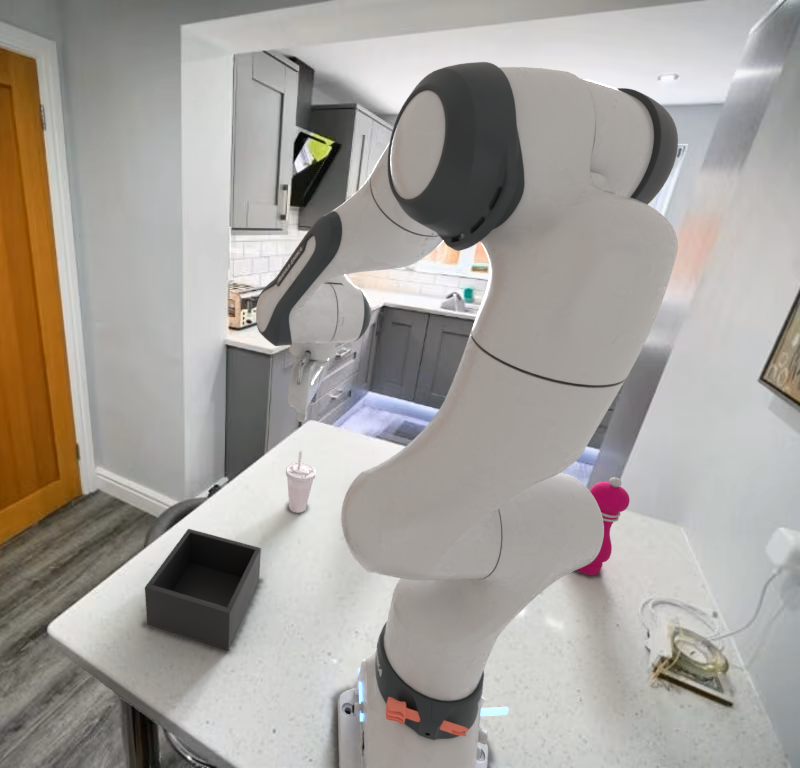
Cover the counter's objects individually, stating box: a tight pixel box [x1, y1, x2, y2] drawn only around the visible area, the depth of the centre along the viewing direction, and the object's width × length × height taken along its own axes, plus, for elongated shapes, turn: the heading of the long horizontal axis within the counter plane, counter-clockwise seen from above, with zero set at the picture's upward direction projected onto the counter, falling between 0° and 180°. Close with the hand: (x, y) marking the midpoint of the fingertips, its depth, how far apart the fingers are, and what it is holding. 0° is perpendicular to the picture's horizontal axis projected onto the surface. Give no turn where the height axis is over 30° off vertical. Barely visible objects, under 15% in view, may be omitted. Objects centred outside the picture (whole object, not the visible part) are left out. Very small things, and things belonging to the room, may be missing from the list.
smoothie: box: [285, 450, 317, 514], centre depth 94 cm, size 6×6×14 cm
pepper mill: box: [576, 476, 630, 576], centre depth 83 cm, size 7×7×20 cm
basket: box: [144, 528, 262, 651], centre depth 71 cm, size 14×14×8 cm
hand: (306, 410), depth 87 cm, fingers open, 8 cm apart
